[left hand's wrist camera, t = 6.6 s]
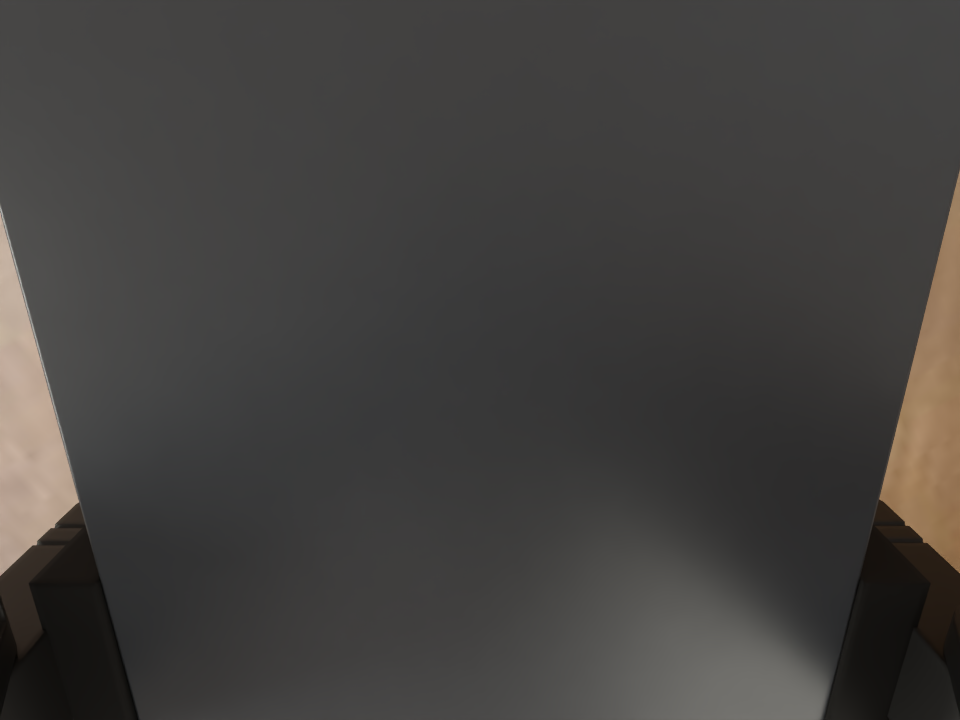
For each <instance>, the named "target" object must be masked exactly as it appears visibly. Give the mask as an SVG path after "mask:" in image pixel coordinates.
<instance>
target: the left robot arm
mask: <svg viewBox="0 0 960 720" xmlns="http://www.w3.org/2000/svg"><path fill="white" fill-rule="evenodd" d="M0 720H138V716H137V712H136V709H135V705H134V701H133V698H132V694H131V690H130V686H129V683H128V679H127V675H126V672H125V668H124V664H123V661H122V657H121V653H120V650H119V646H118V642H117V639H116V635H115V631H114V628H113V624H112V620H111V617H110V613H109V609H108V606H107V602H106V598H105V595H104V591H103V587H102V584H101V580H100V576H99V573H98V569H97V565H96V562H95V558H94V554H93V551H92V547H91V543H90V540H89V536H88V532H87V529H86V525H85V521H84V518H83V514H82V510H81V507H80V503H78V504H76V505H75V506H74V507H73V508H72V509H71V510H70V511H69V512H68V513H67V514H66V515H64V516H63V517H62V518H61V519H60V520H59V521H58V522H57V523H56V524H55V528H51V529H50V530H49V531H48V532H46V533H45V534H44V535H43V536H42V537H41V538H40V539H39V540H38V541H37V545H36V546H32V547H31V548H30V549H29V550H27V551H26V552H25V553H24V554H23V555H22V556H21V557H20V558H19V559H18V560H17V561H16V562H15V563H14V564H13V565H12V566H11V567H10V568H8V569H7V570H6V571H5V572H4V573H3V574H2V575H1V576H0ZM824 720H960V573H959V572H958V571H956V570H955V569H954V568H953V567H952V566H951V565H950V564H949V563H948V562H947V561H946V560H945V559H944V558H943V557H942V556H940V555H939V554H938V553H937V552H936V551H935V550H934V549H933V548H932V547H931V546H930V545H929V544H928V543H923V539H922V538H921V537H920V536H919V535H918V534H917V533H916V532H915V531H914V530H913V529H912V528H911V527H910V526H905V522H904V521H903V520H902V519H901V518H900V517H899V516H898V515H897V514H896V513H895V512H894V511H893V510H892V509H890V508H889V507H888V506H887V505H886V504H885V503H884V502H883V501H881V500H879V501H878V505H877V509H876V513H875V518H874V522H873V526H872V530H871V534H870V538H869V542H868V546H867V550H866V554H865V558H864V563H863V567H862V571H861V575H860V579H859V583H858V587H857V591H856V595H855V599H854V603H853V608H852V612H851V616H850V620H849V624H848V628H847V632H846V636H845V640H844V644H843V648H842V653H841V656H840V660H839V664H838V668H837V672H836V676H835V680H834V684H833V688H832V692H831V696H830V700H829V704H828V707H827V711H826V715H825V719H824Z"/></svg>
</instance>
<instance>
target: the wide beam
mask: <svg viewBox="0 0 960 720" xmlns="http://www.w3.org/2000/svg"><path fill="white" fill-rule="evenodd" d="M959 170H960V0H0V213H1V217H2V220H3V224H4V228H5V231H6V235H7V239H8V242H9V246H10V250H11V253H12V257H13V261H14V264H15V268H16V272H17V275H18V279H19V283H20V286H21V290H22V294H23V297H24V301H25V305H26V308H27V312H28V316H29V319H30V323H31V327H32V330H33V334H34V338H35V342H36V345H37V349H38V353H39V356H40V360H41V364H42V367H43V371H44V375H45V378H46V382H47V386H48V389H49V393H50V397H51V400H52V404H53V408H54V411H55V415H56V419H57V422H58V426H59V430H60V433H61V437H62V441H63V444H64V448H65V452H66V455H67V459H68V463H69V466H70V470H71V474H72V477H73V481H74V485H75V488H76V492H77V496H78V499H79V503H80V507H81V510H82V514H83V518H84V521H85V525H86V529H87V532H88V536H89V540H90V543H91V547H92V551H93V554H94V558H95V562H96V565H97V569H98V573H99V576H100V580H101V584H102V587H103V591H104V595H105V598H106V602H107V606H108V609H109V613H110V617H111V620H112V624H113V628H114V631H115V635H116V639H117V642H118V646H119V650H120V653H121V657H122V661H123V664H124V668H125V672H126V675H127V679H128V683H129V686H130V690H131V694H132V698H133V701H134V705H135V709H136V712H137V716H138V720H824V719H825V715H826V711H827V707H828V704H829V700H830V696H831V692H832V688H833V684H834V680H835V676H836V672H837V668H838V664H839V660H840V656H841V653H842V648H843V644H844V640H845V636H846V632H847V628H848V624H849V620H850V616H851V612H852V608H853V603H854V599H855V595H856V591H857V587H858V583H859V579H860V575H861V571H862V567H863V563H864V558H865V554H866V550H867V546H868V542H869V538H870V534H871V530H872V526H873V522H874V518H875V513H876V509H877V505H878V501H879V497H880V493H881V489H882V485H883V481H884V477H885V473H886V468H887V464H888V460H889V456H890V452H891V448H892V444H893V440H894V436H895V432H896V428H897V424H898V419H899V415H900V411H901V407H902V403H903V399H904V395H905V391H906V387H907V383H908V379H909V374H910V370H911V366H912V362H913V358H914V354H915V350H916V346H917V342H918V338H919V334H920V329H921V325H922V321H923V317H924V313H925V309H926V305H927V301H928V297H929V293H930V289H931V284H932V280H933V276H934V272H935V268H936V264H937V260H938V256H939V252H940V248H941V244H942V239H943V235H944V231H945V227H946V223H947V219H948V215H949V211H950V207H951V203H952V199H953V194H954V190H955V186H956V182H957V178H958V174H959Z"/></svg>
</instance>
